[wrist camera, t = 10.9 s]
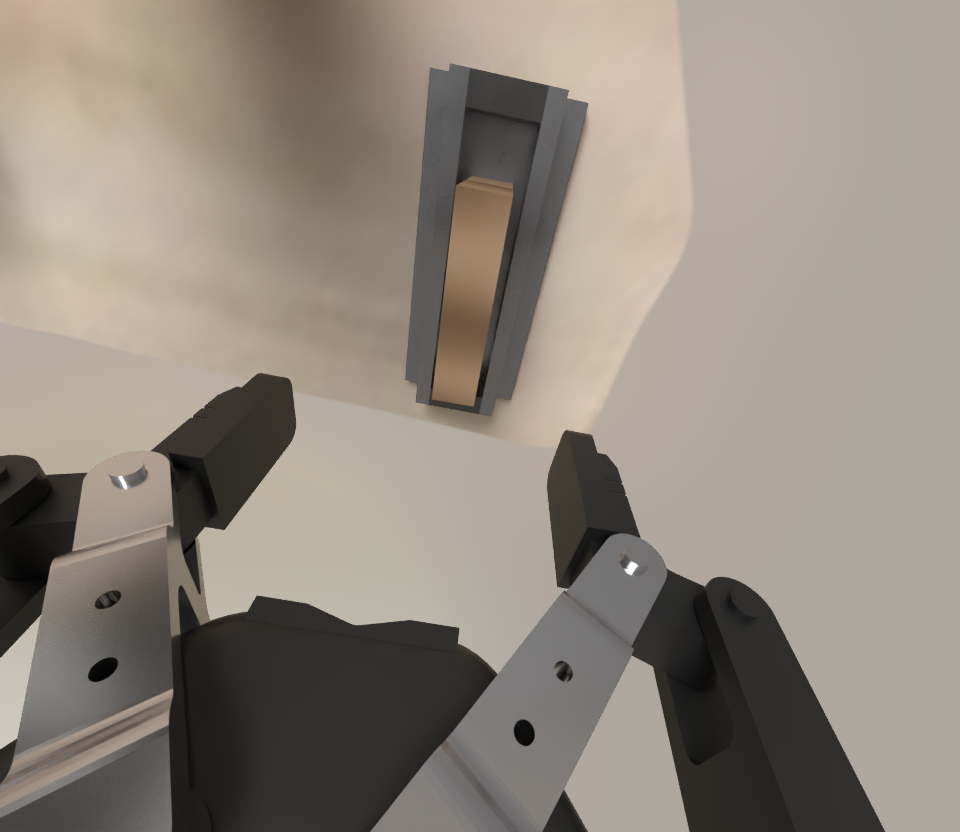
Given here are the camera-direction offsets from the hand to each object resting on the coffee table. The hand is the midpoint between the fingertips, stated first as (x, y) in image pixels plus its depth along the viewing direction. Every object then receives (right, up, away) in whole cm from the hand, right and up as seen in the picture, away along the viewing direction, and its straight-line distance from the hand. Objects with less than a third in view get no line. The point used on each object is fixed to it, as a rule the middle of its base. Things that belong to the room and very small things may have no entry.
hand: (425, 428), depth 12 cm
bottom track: (+2, +11, +17) cm, 20 cm away
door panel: (+1, +11, +16) cm, 19 cm away
